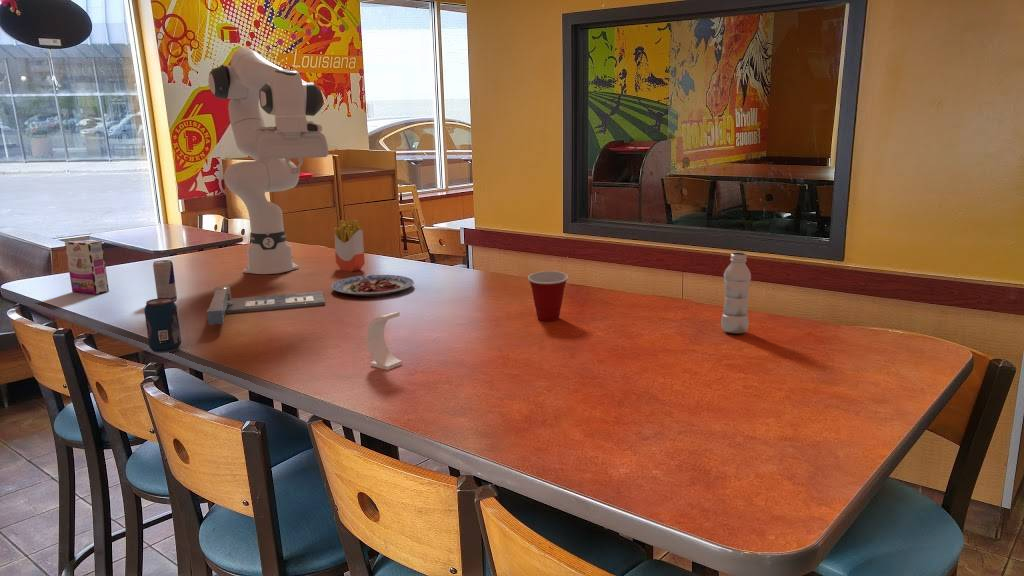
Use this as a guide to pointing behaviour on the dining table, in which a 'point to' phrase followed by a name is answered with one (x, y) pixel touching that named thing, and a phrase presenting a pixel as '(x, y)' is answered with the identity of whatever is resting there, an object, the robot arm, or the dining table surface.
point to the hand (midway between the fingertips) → (295, 173)
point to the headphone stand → (380, 343)
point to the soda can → (162, 325)
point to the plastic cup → (548, 293)
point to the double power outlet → (275, 302)
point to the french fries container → (349, 246)
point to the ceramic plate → (372, 285)
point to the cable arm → (218, 305)
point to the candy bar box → (87, 266)
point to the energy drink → (164, 279)
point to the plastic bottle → (736, 295)
